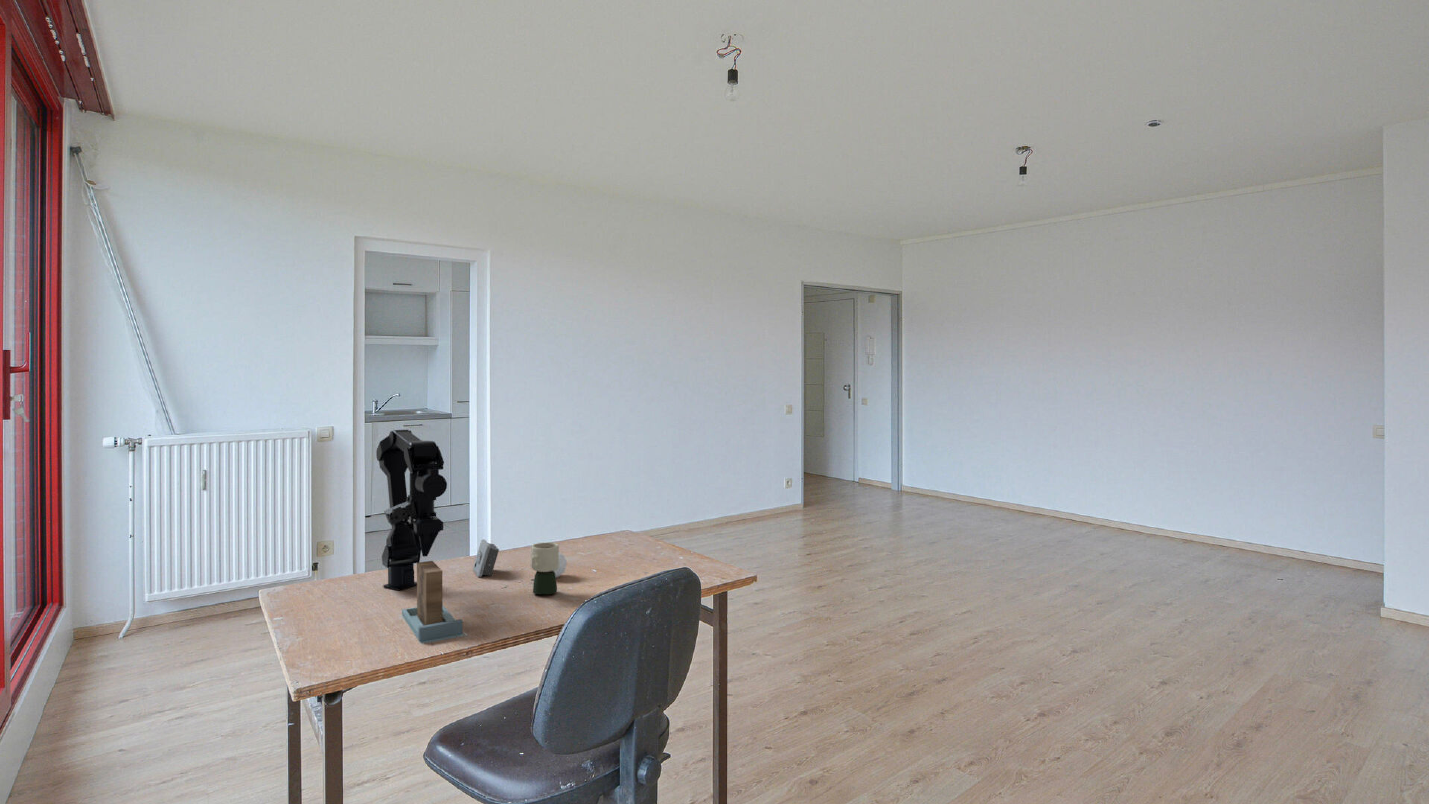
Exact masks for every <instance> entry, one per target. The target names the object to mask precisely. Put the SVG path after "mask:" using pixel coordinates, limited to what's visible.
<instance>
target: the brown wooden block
mask: <svg viewBox="0 0 1429 804" xmlns="http://www.w3.org/2000/svg"><path fill="white" fill-rule="evenodd" d="M416 582H417V585H416V607H417V617H418V619H419V620H420V621H421V623H422V624H423V625H429V624H435V623H441V622H442V605H443V569H441V568H440V567H439V566H438V565H437V564H436V563H435V562H434V561H433V560H428V561H419V563H416Z"/></svg>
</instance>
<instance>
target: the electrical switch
mask: <svg viewBox="0 0 1429 804" xmlns="http://www.w3.org/2000/svg"><path fill="white" fill-rule="evenodd" d="M499 550H500V549H499V548H498V547H497V545H495V544H494V543H489V542H488V541H487V540H486V539H483V538H482V539H481V540H480V544H479V546H478V550H477V553H476V556H475V560H474V563H473V565H472V566H473V567H472V570H473V572H474V574H475V575H476V576H477V577H478V578H482V576H489V577H490V576H491V577H492V574H493V571H494V569H495V565H496V562H497V558H498V555H499V552H500V551H499Z"/></svg>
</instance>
